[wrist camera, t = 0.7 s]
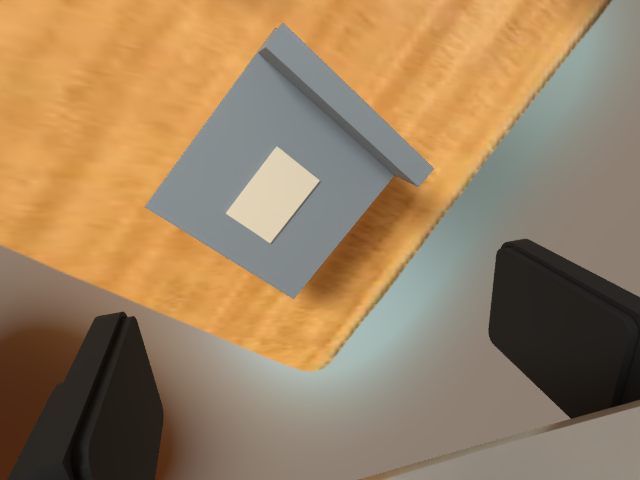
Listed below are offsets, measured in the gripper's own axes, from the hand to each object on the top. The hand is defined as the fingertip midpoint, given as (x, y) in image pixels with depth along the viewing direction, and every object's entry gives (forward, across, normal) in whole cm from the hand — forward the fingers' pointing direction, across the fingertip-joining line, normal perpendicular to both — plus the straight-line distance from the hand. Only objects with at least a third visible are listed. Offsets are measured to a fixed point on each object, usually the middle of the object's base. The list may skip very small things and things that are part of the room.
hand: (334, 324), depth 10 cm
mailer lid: (+21, -2, +1) cm, 21 cm away
